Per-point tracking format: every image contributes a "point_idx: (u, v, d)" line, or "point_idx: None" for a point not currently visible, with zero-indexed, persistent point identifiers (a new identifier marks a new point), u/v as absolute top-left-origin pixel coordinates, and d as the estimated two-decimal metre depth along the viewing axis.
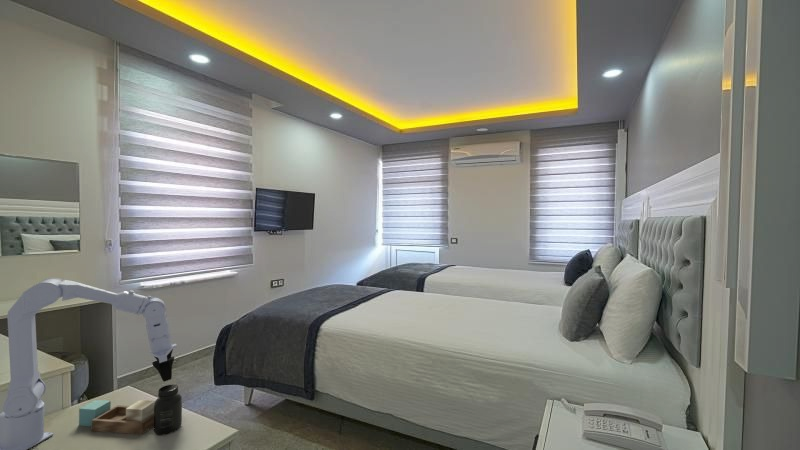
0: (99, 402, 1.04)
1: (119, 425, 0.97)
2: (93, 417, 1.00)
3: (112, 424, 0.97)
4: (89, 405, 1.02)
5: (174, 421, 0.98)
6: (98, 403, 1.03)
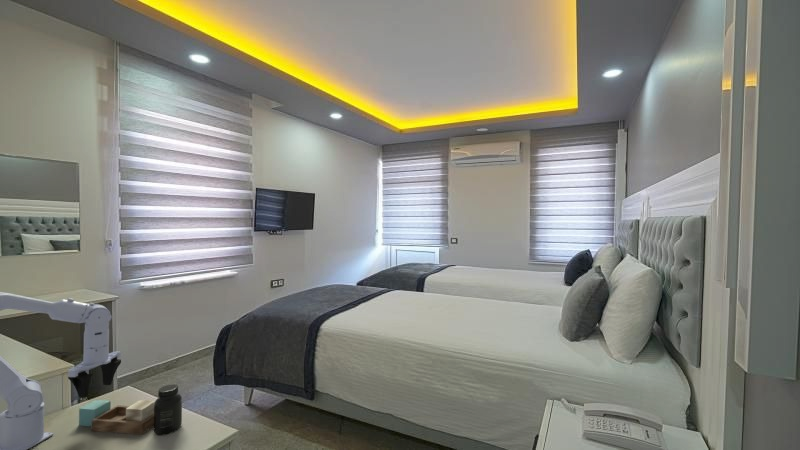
0: (99, 402, 1.04)
1: (119, 425, 0.97)
2: (93, 417, 1.00)
3: (112, 424, 0.97)
4: (89, 405, 1.02)
5: (174, 421, 0.98)
6: (98, 403, 1.03)
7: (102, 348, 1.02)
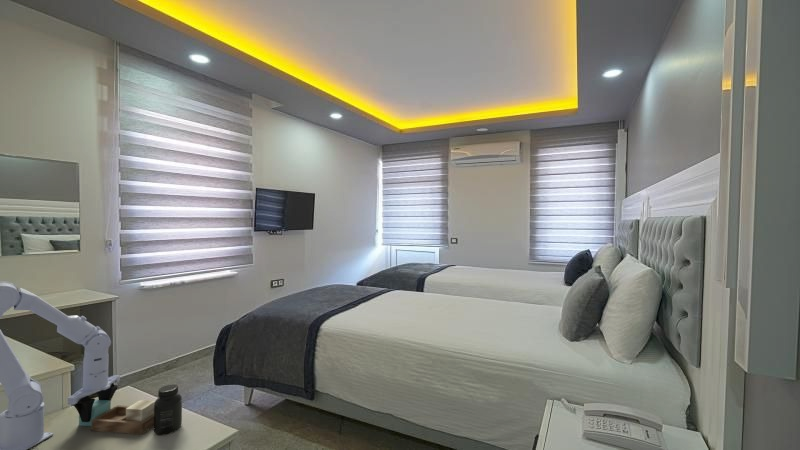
0: (99, 402, 1.04)
1: (119, 425, 0.97)
2: (93, 417, 1.00)
3: (112, 424, 0.97)
4: None
5: (174, 421, 0.98)
6: (98, 403, 1.03)
7: (101, 374, 1.02)
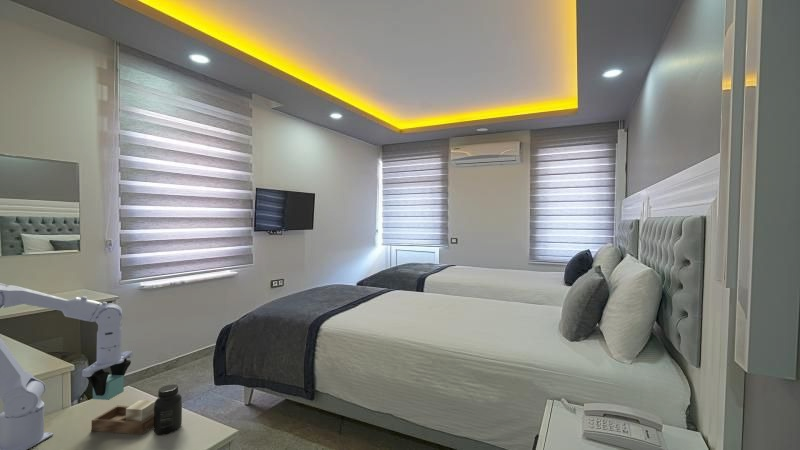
0: (113, 377, 1.03)
1: (119, 425, 0.97)
2: (107, 390, 1.00)
3: (112, 424, 0.97)
4: None
5: (174, 421, 0.98)
6: (111, 377, 1.03)
7: (115, 348, 1.01)
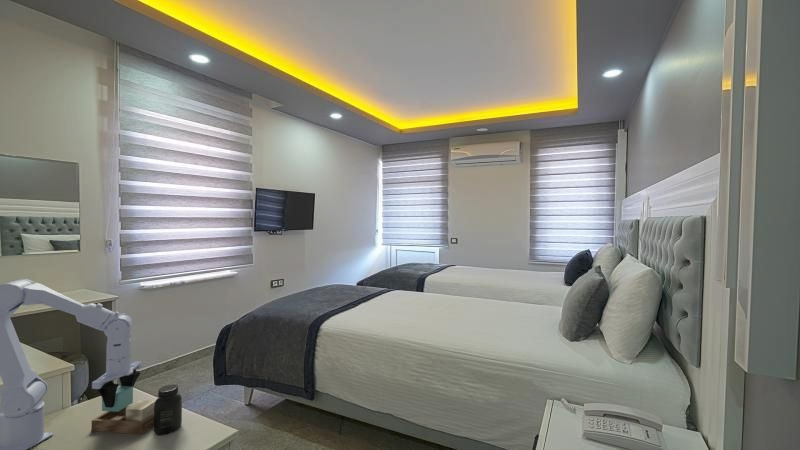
0: (122, 388, 1.03)
1: (119, 425, 0.97)
2: (116, 402, 0.99)
3: (112, 424, 0.97)
4: None
5: (174, 421, 0.98)
6: (121, 388, 1.02)
7: (125, 359, 1.01)
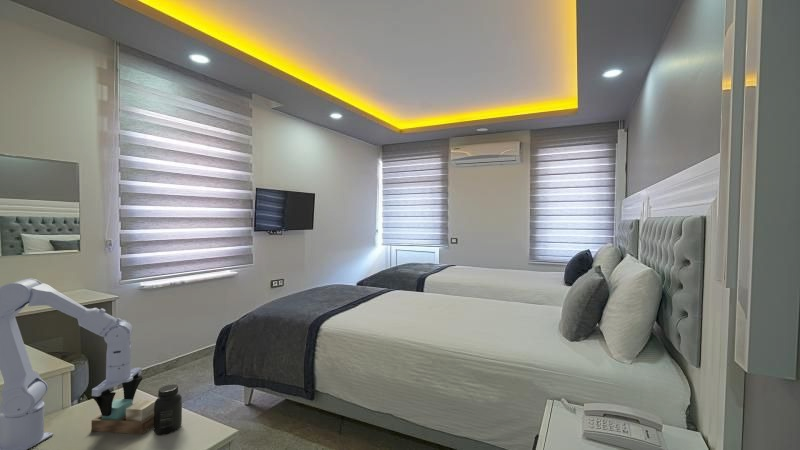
0: (121, 401, 1.03)
1: (119, 425, 0.97)
2: (116, 416, 0.99)
3: (112, 424, 0.97)
4: None
5: (174, 421, 0.98)
6: (120, 402, 1.02)
7: (125, 366, 1.01)
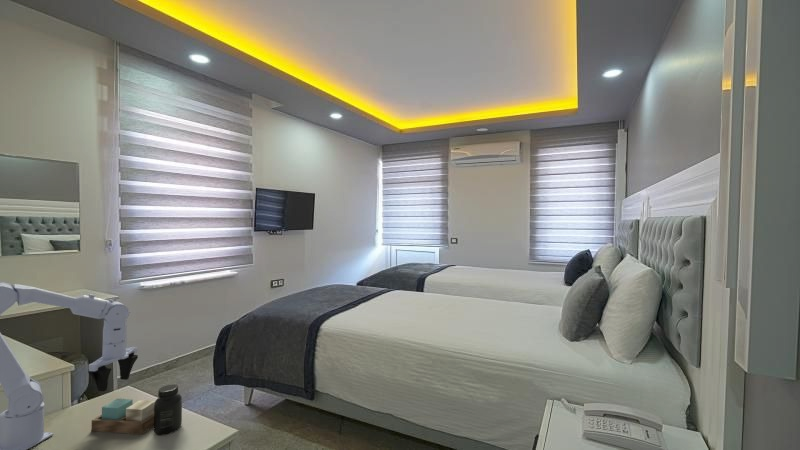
0: (121, 401, 1.03)
1: (119, 425, 0.97)
2: (116, 416, 0.99)
3: (112, 424, 0.97)
4: (111, 404, 1.01)
5: (174, 421, 0.98)
6: (120, 402, 1.02)
7: (120, 343, 1.05)
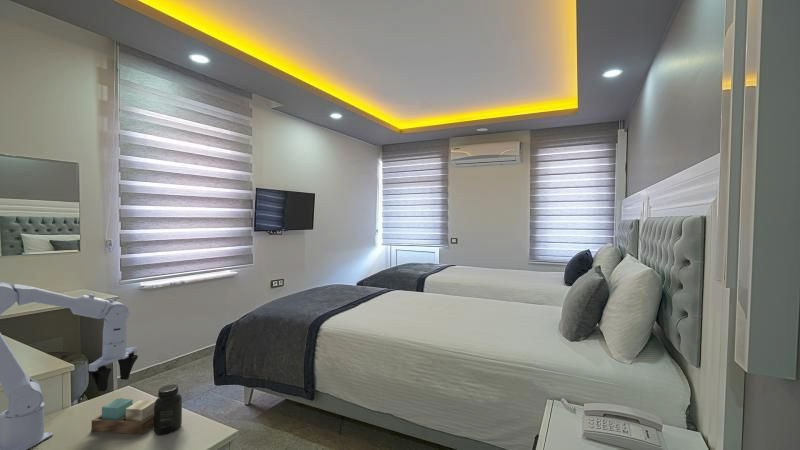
0: (121, 401, 1.03)
1: (119, 425, 0.97)
2: (116, 416, 0.99)
3: (112, 424, 0.97)
4: (111, 404, 1.01)
5: (174, 421, 0.98)
6: (120, 402, 1.02)
7: (120, 343, 1.05)
